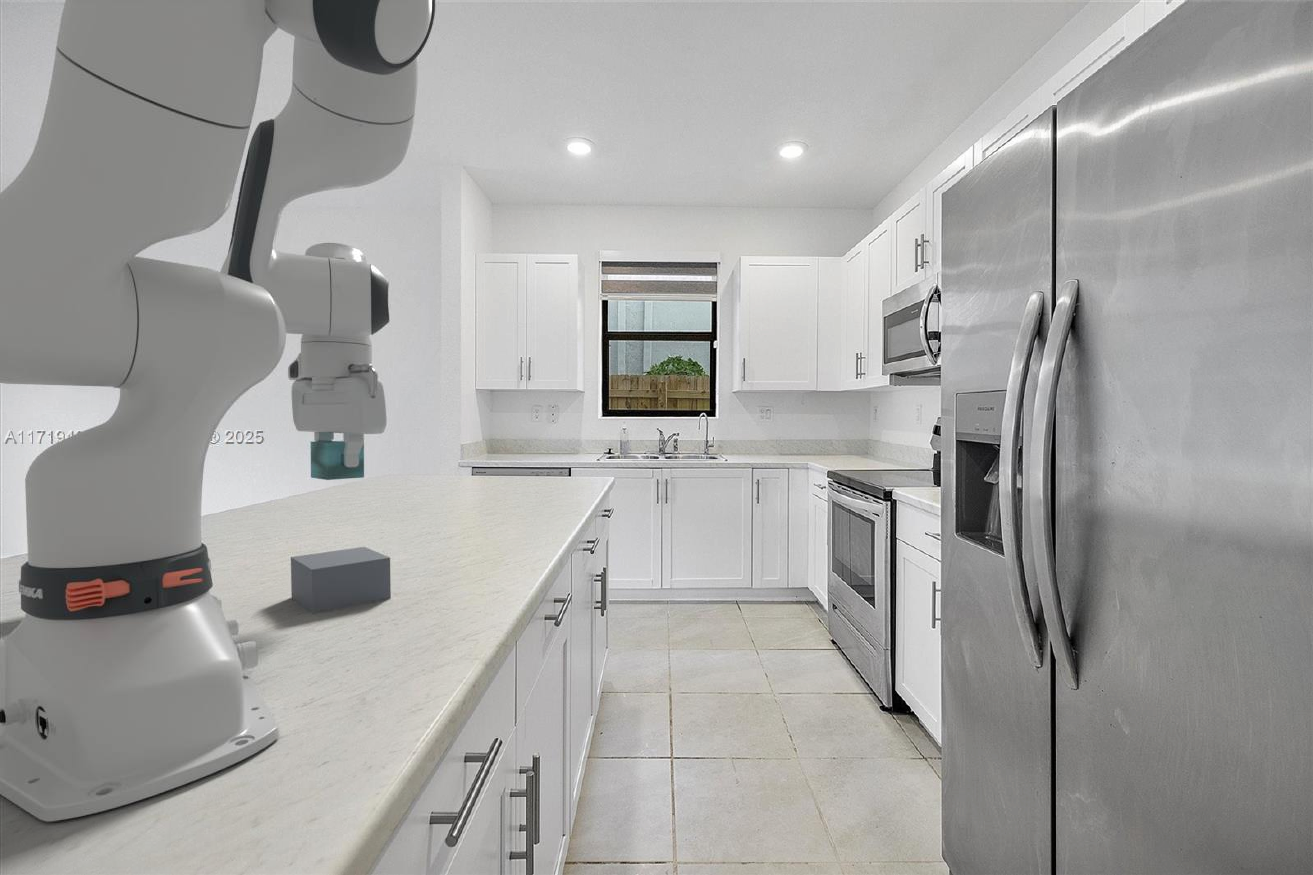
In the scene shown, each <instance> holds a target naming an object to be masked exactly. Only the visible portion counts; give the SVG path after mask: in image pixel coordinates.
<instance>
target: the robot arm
mask: <svg viewBox="0 0 1313 875" xmlns="http://www.w3.org/2000/svg"><path fill="white" fill-rule="evenodd" d="M435 13H436V0H65V2H64V5H63V9H62V12H61V17H60V23H59V30H58V34H57V40H56V46H55V52H54V54H55V55H54V60H53V61H54V62H53V68H52V74H51V80H50V85H49V90H48V91H49V92H48V96H47V100H46V105H45V110H44V114H43V118H42V122H41V126H40V129H39V133H38V136H37V140H36V143H35V146H34V149H33V150H32V153H31V154H30V157H29V159H28V161H27V162H26V164H25V166H24V167H23V169H22V170H21V171H20V172H19V174H18V175H17V176H16V178H14V179H13V181H11V183H10V184H9V185H8V186H6V187H5V188H4V190H2V191H1V192H0V384H6V385H36V386H37V385H41V386H42V385H43V386H47V385H48V386H75V387H105V388H107V387H108V388H114V389H119V400H118V403H117V407H116V409H115V410H114V412H113V414H112V415H111V416H110V418H108V419H107V421H105V422H103V423H101V424H99V425H96V426H93V427H91V428H88V429H86V430H83V431H80V432H78V433H75V434H73V435H71V436H69V437H66V438H65V439H61V440H60V441H58V442H56V443H54V444H52V445H51V446H49V447H47V448H46V449H45V450H43V451H42V452H41V453H40V454H38V456H36V457H35V459H34V460H33V461H32V462H31V465H30V466H29V467H28V469H27V472H26V475H25V480H24V482H25V486H24V487H25V490H24V491H25V509H26V510H25V512H26V540H27V541H26V542H27V561H26V562H25V563H23V564H22V565H21V566H20V579H19V581H18V593H19V594H20V609H21V611H23V612H24V613H25V616H24V617H23V619H22V620H21V621H20V623H19V624H18V625H17V626H16V627H15V628H14V629H13V630H12V632H10V633H9V634H8V635H7V636H5V637H4V638H3V639H2V640H0V795H1V796H3V797H4V798H6V799H7V800H9V801H11V803H13V804H15V805H17V806H19V808H21V809H23V810H24V811H26V812H27V813H29V814H31V815H32V816H33V817H35V818H37V819H38V820H41V821H44V822H58V821H61V820H62V821H63V820H69V819H74V818H79V817H83V816H87V815H93V814H97V813H99V812H100V813H101V812H104V811H108V810H111V809H116V808H119V807H122V806H125V805H129V804H132V803H134V802H135V803H136V802H137V801H141V800H144V799H146V798H147V799H148V798H150V797H153V796H156V795H159V794H161V793H164V792H167V791H170V790H172V789H175V788H178V787H181V786H184V785H186V784H188V783H191V782H194V781H196V780H199V779H202V778H204V777H206V776H209V775H211V774H214V773H216V772H219V771H221V770H224V769H226V768H228V767H230V766H232V765H234V764H236V763H238V762H241V761H242V760H245V759H247V758H249V757H251V756H252V755H255V754H256V753H258V752H260V751H261V750H263V749H265V748H266V747H267V746H269V745H270V744H272V743H274V742H275V741H277V739H278V738H279V737H280V731H279V730H280V729H279V725H278V722H277V720H276V718H275V716H274V713H272V711H271V709H270V707H269V705H268V703H267V701H266V699H265V697H264V696H263V694H262V692H261V690H260V688H259V687H258V685H257V683H256V681H255V679H254V677H253V675H252V673H251V672H250V671H248V670H252V669H255V668H256V667H258V662H259V655H258V653H259V652H258V647H257V643H256V641H254V640H253V641H252V640H250V641H249V640H248V641H244V642H240V643H236V644H235V642H234V638H233V637H234V636H237V635H238V634H239V623H238V620H237V619H231V620H227V619H226V617H225V614H224V611H223V609H222V606H223V605H222V600H221V599H219V598H218V597H217V596H214V595H212V594H211V591H210V590H211V589H212V587H213V586H214V584H213V578H212V572H211V571H212V561H211V559H210V558H209V553H208V547H207V545H206V544H204V543H203V542H202V497H203V494H202V493H203V480H204V470H205V469H204V468H205V461H206V456H207V452H208V450H209V446H210V443H211V441H212V438H213V436H214V434H215V432H216V430H217V428H218V426H219V424H220V422H221V421H222V419H223V418H224V416H225V415H226V413H227V412H228V411H229V409H230V408H231V407H232V406H233V405H234V404H235V403H236V402H237V401H238V400H239V399H240V397H241V396H243V395H244V394H246V392H248V391H249V390H250V389H251V388H253V387H254V386H256V385H258V384H259V383H261V382H262V381H264V380H266V378H268V376H270V375H271V374H272V373H273V371H274V370H275V369H276V368H277V366H278V364H279V362H280V361H281V359H282V357H283V354H284V351H285V348H286V342H287V340H286V339H287V334H289V335H290V334H292V335H301V338H300V352H299V353H298V354H297V357H296V358H294V360H293V361H292V362H291V363H290V364H289V366H288V368H287V377H288V380H290V381H293V383H292V385H291V392H290V393H291V409H292V420H293V424H294V427H295V429H296V430H297V432H307V433H308V432H310V433H311V432H312V433H314V434H313V436H314V437H313V438H314V442H315V441H334V439H335V438H334V437H335V436H334V435H335V434H343V435H342V436H343V441H344V442H346V443H345V448H344V454H341V465H342V466H343V467H357V466H358V465H359V453H360V450H361V448H362V445H363V442H364V443H365V441H364V440H365V439H364V435H376V434H383V433H384V432H385V430H386V428H387V425H388V424H387V422H388V421H387V420H388V419H387V408H386V406H387V405H386V397H385V390H384V386H383V383H382V381H381V380H380V379H379V376H378V375H379V374H378V372H376V370H375V368H373V353H372V352H373V350H372V348H373V346H372V340H371V337H370V336H373V335H374V334H376V333H378V332H379V331H380V330H382V329H383V328H385V326H386V325H388V324H389V323H390V313H389V311H390V310H389V286H390V285H389V284H390V282H389V280H388V279H387V278H386V277H385V276H384V275H383V273H382V272H381V271H380V270H379V269H377V267H375V265H373V264H371V263H367V260H366V256H365V255H364V253H363V252H362V251H361V250H359V249H357V248H355V247H352V246H350V245H346V244H343V243H335V242H324V243H317V244H314V245H311V246H309V247H308V248H306V250H305V253H304V254H297V253H296V254H295V253H288V252H281V251H279V250H276V249H275V248H274V247H275V243H276V238H277V233H278V229H279V225H280V221H281V217H282V214H283V211H284V209H285V207H287V206H288V204H290V203H291V202H293V201H295V200H296V199H299V198H302V197H305V196H308V195H312V194H316V193H317V194H318V193H321V192H326V191H332V190H340V189H341V190H342V189H349V188H357V187H363V186H366V185H370V184H372V183H375V182H377V181H379V180H381V179H384V178H386V177H387V176H388V175H390V174H391V173H392V172H394V171H395V170H396V169H397V168H398V167H399V166H400V165H401V164H402V163H403V162H404V159H405V158H406V154H407V151H408V148H409V146H410V141H411V137H412V132H413V126H414V120H415V115H416V113H415V112H416V106H417V105H416V104H417V95H418V94H417V93H418V81H419V80H418V79H419V78H418V77H419V55H420V54H421V52H422V51H423V49H424V47H425V46H426V44H427V42H428V39H429V37H430V35H431V32H432V28H433V24H434V20H435V16H436V15H435ZM278 29H280V30H281V31H283V32H285V33H287V34H289V35H290V36H292V37H294V41H293V53H292V83H291V84H292V85H291V92H290V96H289V97H288V100H287V102H286V104H285V106H284V107H283V109H282V110H281V111H280V112H279V114H278V115H277V116H276V117H274V118H271V119H267V120H264V121H261V122H259V123H258V124H257V126H256V128H255V130H254V132H253V133H252V136H251V139H250V142H249V146H248V149H247V154H246V159H245V164H244V167H243V168H244V169H243V171H242V175H241V180H240V186H239V193H238V197H237V204H236V207H235V208H236V209H235V214H234V220H233V224H232V225H233V226H232V231H231V238H230V244H229V247H228V252H227V255H226V257H225V259H224V262H223V264H222V266H221V269H220V271H218V270H215V269H212V268H207V267H203V266H197V265H191V264H184V263H178V262H173V261H165V260H159V259H155V258H148V257H143V256H142V257H141V256H137V255H138V254H140V253H141V252H143V251H144V250H146V249H148V248H149V247H151V246H153V245H156V244H158V243H160V242H163V241H167V240H171V239H175V238H179V237H184V236H189V235H193V234H197V233H200V232H202V231H205V230H207V229H209V228H211V226H213V225H214V224H215V223H217V222H218V221H219V220H221V218H222V217H223V216H224V215H225V213H226V212H227V211H228V209H229V208H230V205H231V201H232V198H233V193H234V190H235V187H236V184H237V183H236V182H237V180H238V177H239V176H238V175H239V172H240V167H241V163H242V159H243V155H244V152H245V148H246V143H247V141H248V137H249V134H250V129H251V125H252V121H253V117H254V116H253V115H254V112H255V107H256V104H257V98H258V93H259V92H258V91H259V87H260V81H261V74H262V73H261V72H262V66H263V58H264V46H265V44H266V43H267V42H268V40H269V39H270V38H271V36H273V34H275V32H277V30H278Z"/></svg>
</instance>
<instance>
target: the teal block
mask: <svg viewBox="0 0 1313 875" xmlns="http://www.w3.org/2000/svg"><path fill="white" fill-rule="evenodd" d="M345 443H346V442H344V440H332V441H315V440H314V441H310V478H312V479H318V480H326V481H331V480H345V479H347V480H348V479H363V478H365V441H364V442H363V445H362V448H361V450H360V453H359V465H358V466H357V467H343V466H342V465H341V454H344V448H345Z"/></svg>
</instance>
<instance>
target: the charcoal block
mask: <svg viewBox="0 0 1313 875" xmlns="http://www.w3.org/2000/svg"><path fill="white" fill-rule="evenodd" d="M290 573H291V574H290V577H291V578H290V580H291V581H290V584H291V585H290V586H291V587H290V588H291V591H290V593H291V598H292V599H293V601H295V602H296V603H298V604H299V605H300V606H302V607H303V608H305V609H306V610H307V611H308V612H310V613H311V614H313V615H314V614H318V613H322V612H328V611H334V610H338V609H343V608H349V607H353V606H359V605H365V604H369V603H374V602H378V601H380V602H381V601H385V600H389V599H392V595H391V594H392V592H391V591H392V590H391V588H392V587H391V557H389V556H387V555H385V554H382V553H380V552H378V551H375V550H373V549H370V548H369V547H366V546H360V547H353V548H348V549H347V548H345V549H339V550H332V551H324V552H316V553H311V554H303V555H295V556H290Z"/></svg>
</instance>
